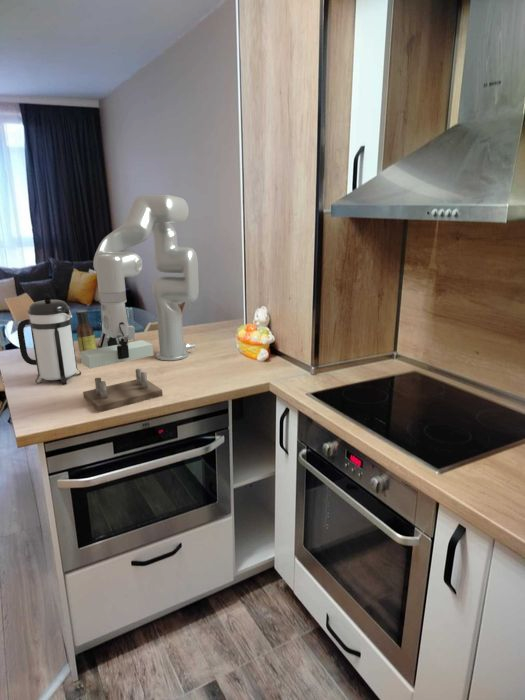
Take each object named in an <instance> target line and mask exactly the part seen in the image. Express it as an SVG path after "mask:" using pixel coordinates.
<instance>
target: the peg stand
mask: <svg viewBox="0 0 525 700" xmlns="http://www.w3.org/2000/svg"><path fill="white" fill-rule="evenodd" d="M147 373H148V372H146V371H142V369H141V368H136V369H135V379H133V380H128V381H125V382H124V381H123V382H119V383H115V384H111V385H107V382H106V381H105V380H102V377H95V378H94V383H95V388H94V389H90V390H86V391H85V390H84V391H83V392H82V395H83V399H84V400H85V401H87V402H88V404H90V406H92V408H94V409H95V410H96V411H97V412H98V413H103V412H105V411H110V410H114V409H117V408H121V407H125V405H126V406H128V405H132V404H136V402H137V403H141V402H144V400H145V401H147V400H151V398H152V399H155V398H159V396H160V397H163V389H162V388H161V387H159V386H157V385H155V384H154V383H153V382H151V381H149V380H148V375H147ZM140 401H141V402H140Z"/></svg>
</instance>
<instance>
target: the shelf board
mask: <svg viewBox="0 0 525 700" xmlns="http://www.w3.org/2000/svg"><path fill="white" fill-rule="evenodd" d="M117 346H118V345H113V346H108V347H103V348H102V347H96V348H97V349H92V350H86V351H81V352H80V351H79V355H80V356H79V357H80V363H81V364H82V365H83V366H85V367H87V368H89V369H90V370H91V369H95V368H99V367H105V366H109V365H113V364H114V365H115V364H119V363H124V362H129V361H133V360H137V359H142V358H147V357H152V356H154V345H153V344H152V343H151V342H147V341H146V340H143V339H142V340H141V339H140V340H136V341H135V340H134V341H129V342H128V350H129V358H125V359H118V353H117Z"/></svg>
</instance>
